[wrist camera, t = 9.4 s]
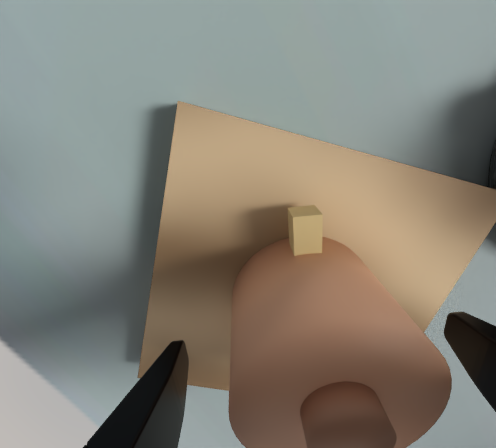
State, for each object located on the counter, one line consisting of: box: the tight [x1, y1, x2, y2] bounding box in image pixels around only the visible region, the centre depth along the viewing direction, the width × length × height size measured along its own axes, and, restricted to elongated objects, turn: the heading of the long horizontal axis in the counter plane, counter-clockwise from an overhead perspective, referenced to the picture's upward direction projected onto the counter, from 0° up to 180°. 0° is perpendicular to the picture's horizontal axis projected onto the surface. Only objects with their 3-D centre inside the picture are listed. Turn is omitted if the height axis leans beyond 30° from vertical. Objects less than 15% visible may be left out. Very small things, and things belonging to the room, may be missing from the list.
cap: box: [229, 205, 452, 448], centre depth 8 cm, size 6×8×5 cm
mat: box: [138, 101, 496, 391], centre depth 11 cm, size 12×12×1 cm
